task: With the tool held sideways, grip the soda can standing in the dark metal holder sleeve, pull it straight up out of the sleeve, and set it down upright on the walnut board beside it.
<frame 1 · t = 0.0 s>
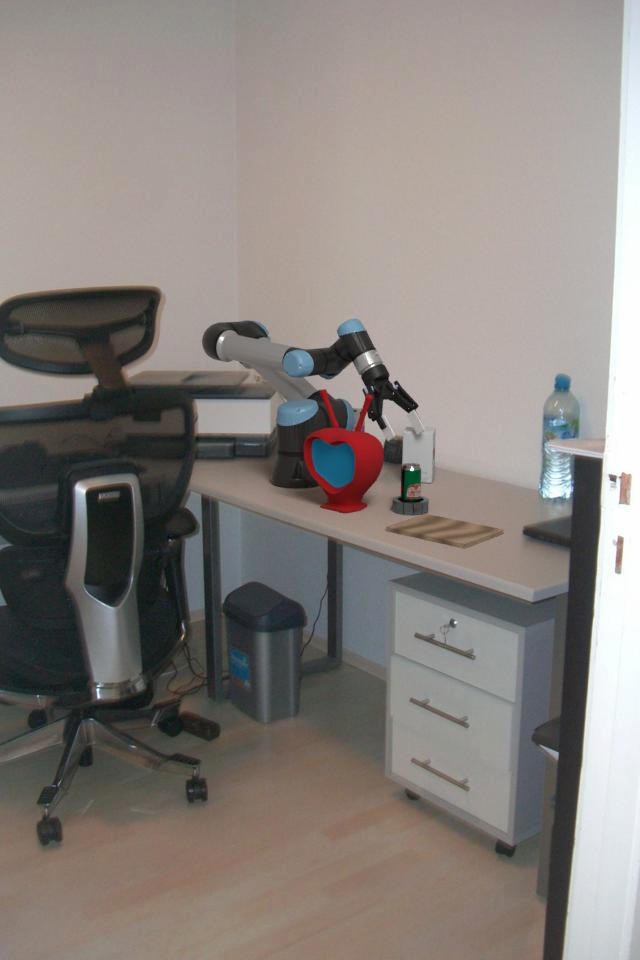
hand: (406, 435, 262), 15 cm above the table, tool tilted 35°, fingers open, 13 cm apart
novelty television: (345, 507, 246), on the table
walnut board: (444, 532, 222), on the table
soda can: (410, 511, 242), resting in holder sleeve
candy bar box: (346, 459, 308), on the table
holder sleeve: (410, 510, 242), on the table
supplement box: (418, 480, 278), on the table
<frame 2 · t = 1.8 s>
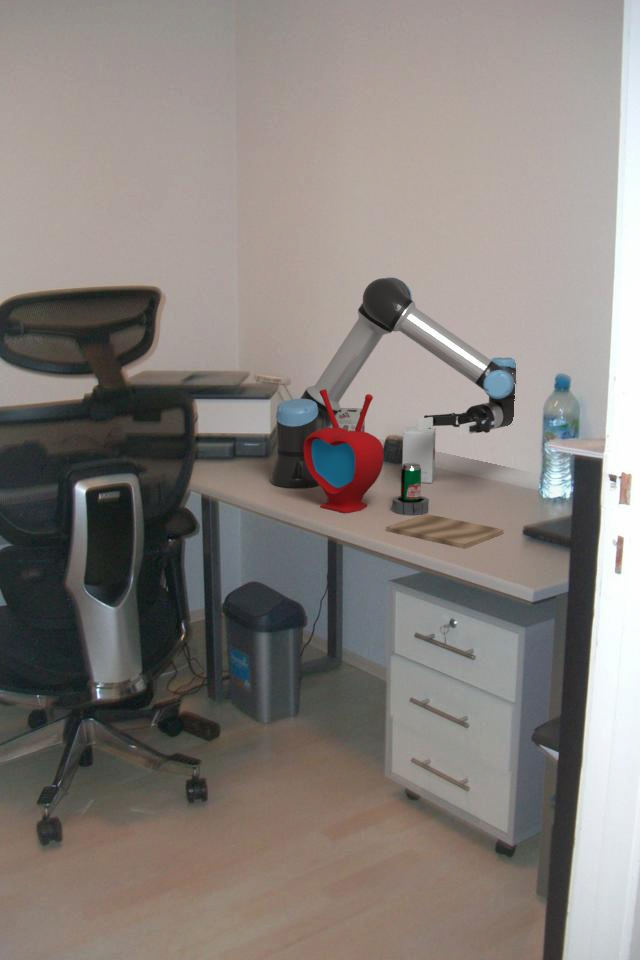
hand: (438, 427, 246), 20 cm above the table, tool horizontal, fingers open, 13 cm apart
nothing on the table moved.
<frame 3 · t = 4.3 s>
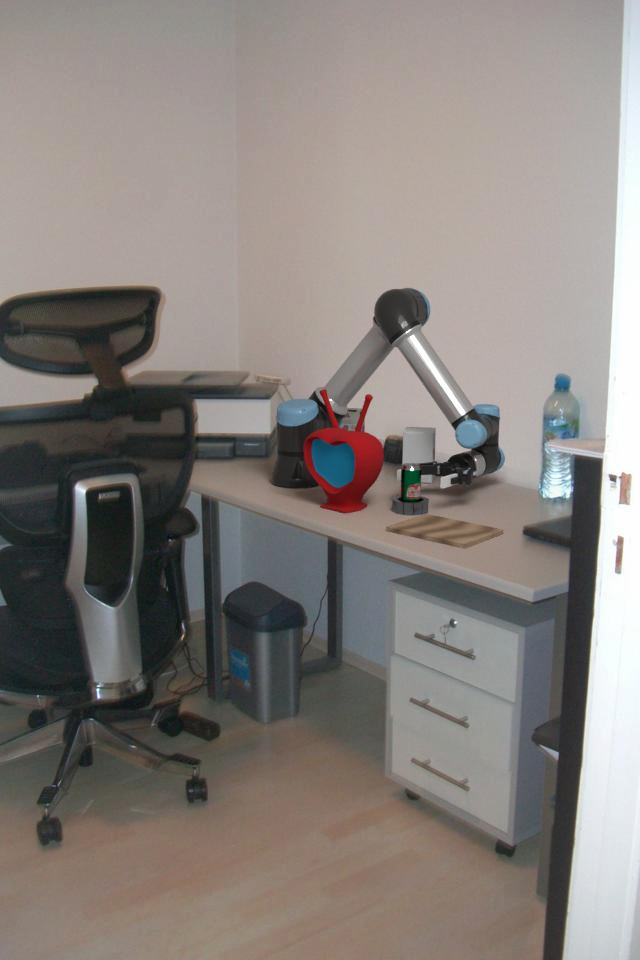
hand: (419, 479, 242), 8 cm above the table, tool horizontal, fingers open, 13 cm apart
nothing on the table moved.
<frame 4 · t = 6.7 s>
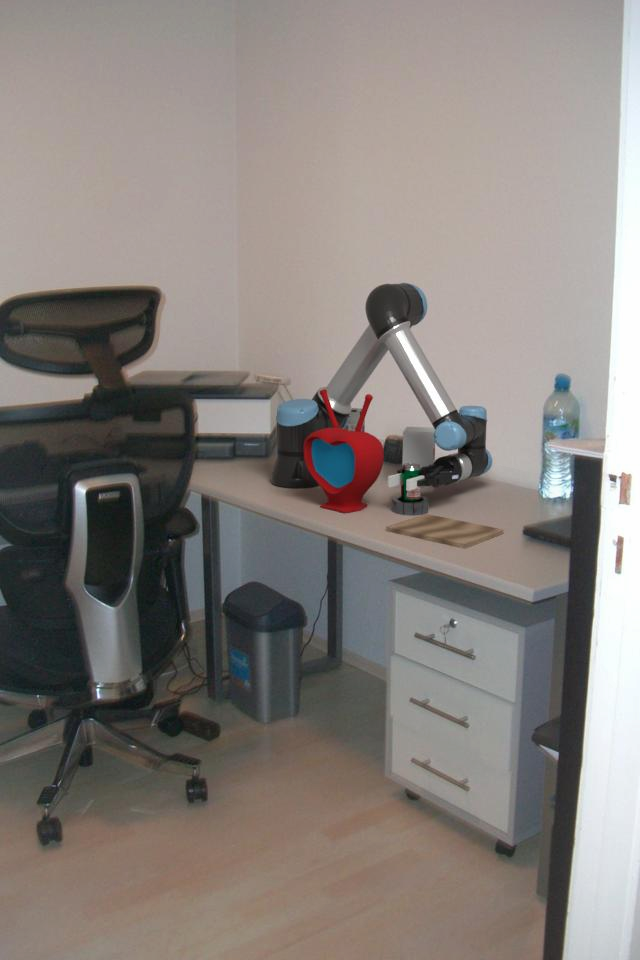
hand: (398, 483, 237), 8 cm above the table, tool horizontal, fingers closed on soda can, 5 cm apart
soda can: (410, 511, 242), resting in holder sleeve, touching gripper
everything else where it was.
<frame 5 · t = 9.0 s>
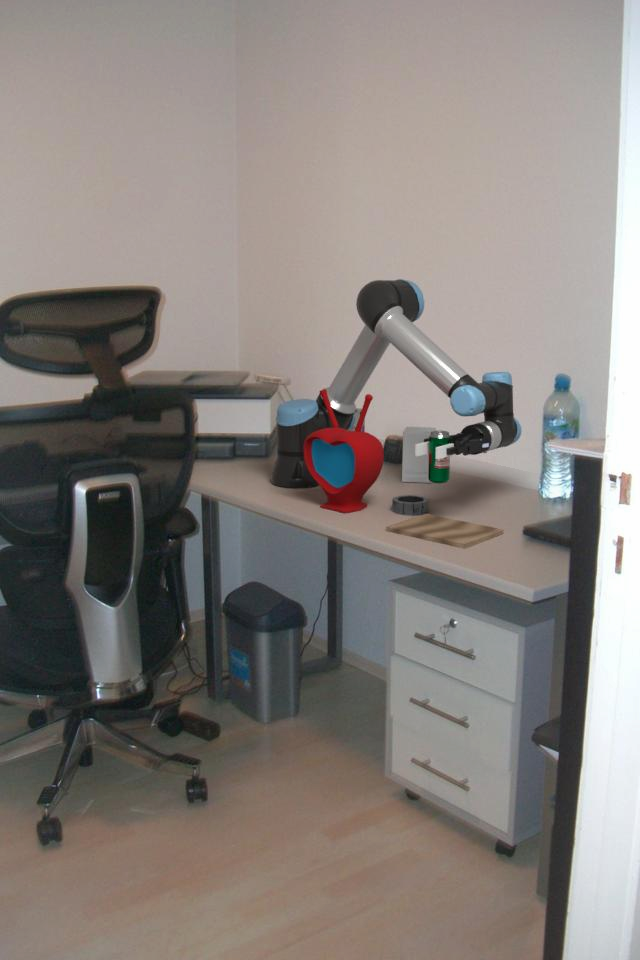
hand: (426, 451, 222), 18 cm above the table, tool horizontal, fingers closed on soda can, 5 cm apart
soda can: (438, 482, 228), point 10 cm above the table, touching gripper
everything else where it was.
when the fingers open (10 cm above the table, at t = 11.6 s): soda can drops 1 cm, resting on walnut board.
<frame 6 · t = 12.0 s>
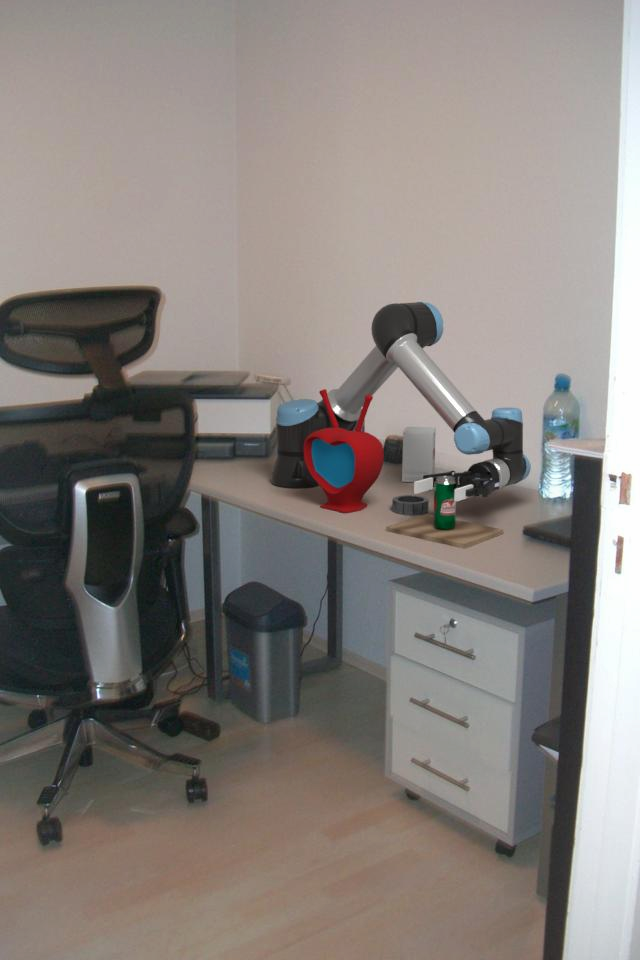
hand: (435, 491, 217), 11 cm above the table, tool horizontal, fingers open, 10 cm apart
soda can: (444, 528, 222), point 1 cm above the table, touching walnut board
everything else where it was.
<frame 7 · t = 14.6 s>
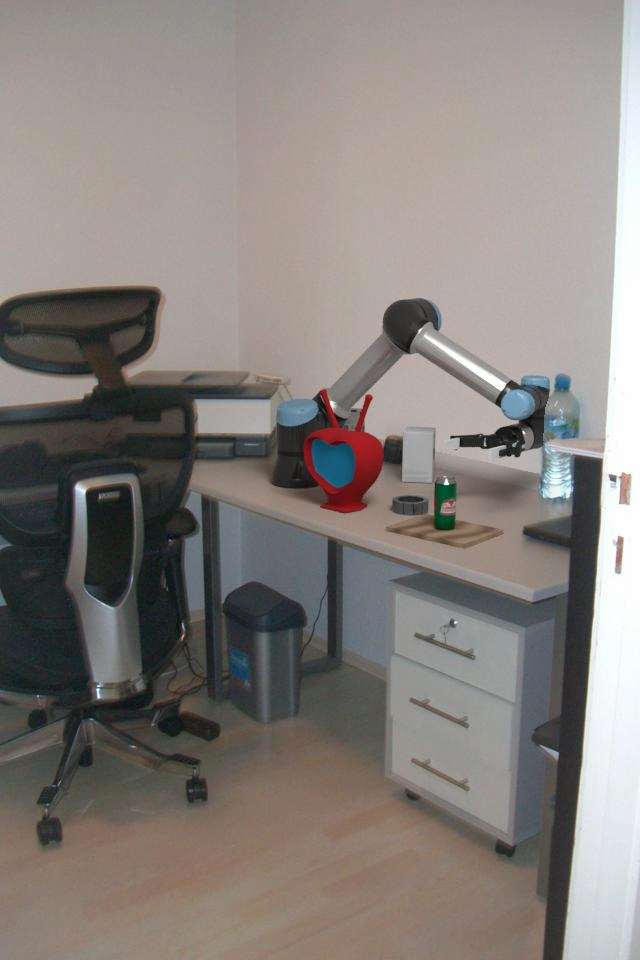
hand: (465, 450, 231), 17 cm above the table, tool horizontal, fingers open, 13 cm apart
nothing on the table moved.
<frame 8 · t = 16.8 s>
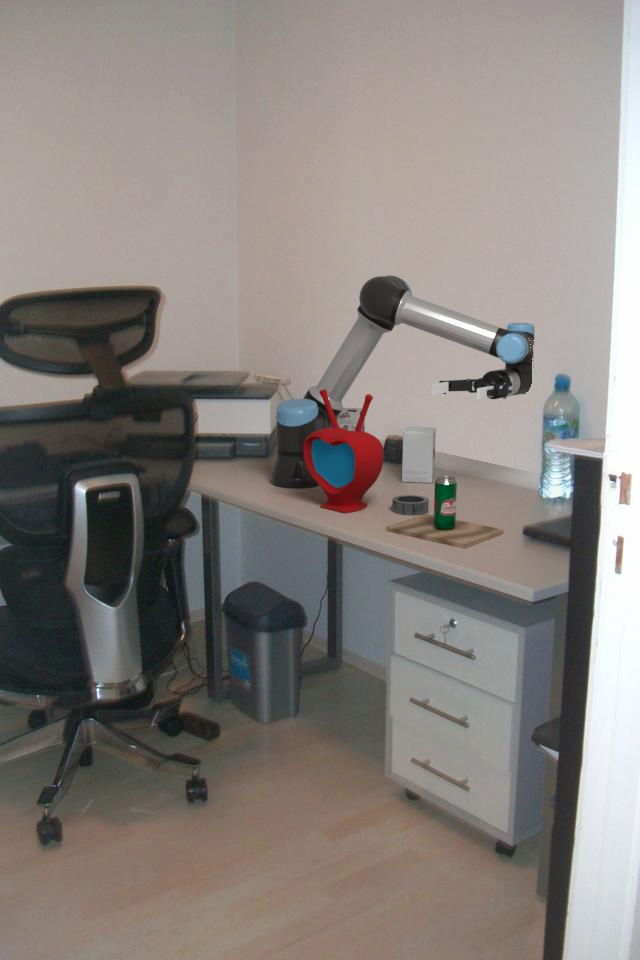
hand: (454, 391, 239), 30 cm above the table, tool horizontal, fingers open, 13 cm apart
nothing on the table moved.
at the end: soda can inside the target area on the walnut board (0.1 cm from its centre), point 0.8 cm above the walnut board's base; soda can tilted 0°; the gripper is holding nothing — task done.
